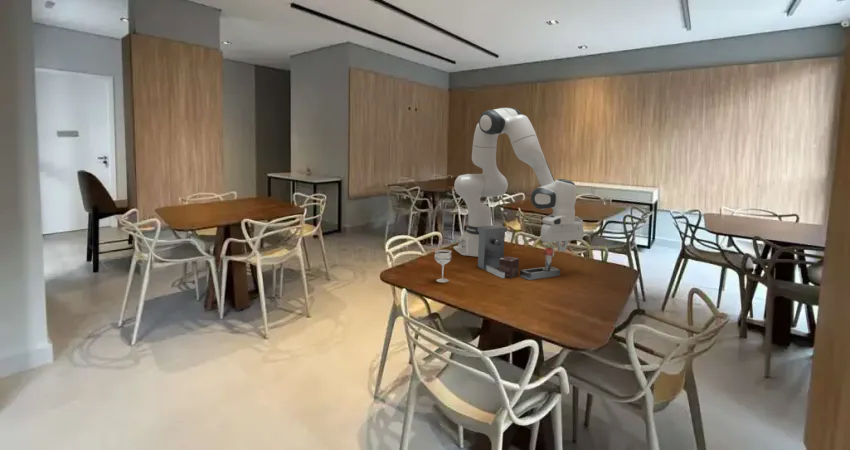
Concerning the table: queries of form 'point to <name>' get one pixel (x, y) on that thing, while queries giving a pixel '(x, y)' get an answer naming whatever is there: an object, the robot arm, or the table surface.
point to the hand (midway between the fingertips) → (561, 251)
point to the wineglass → (442, 260)
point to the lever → (548, 259)
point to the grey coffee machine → (491, 248)
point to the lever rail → (539, 273)
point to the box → (509, 266)
